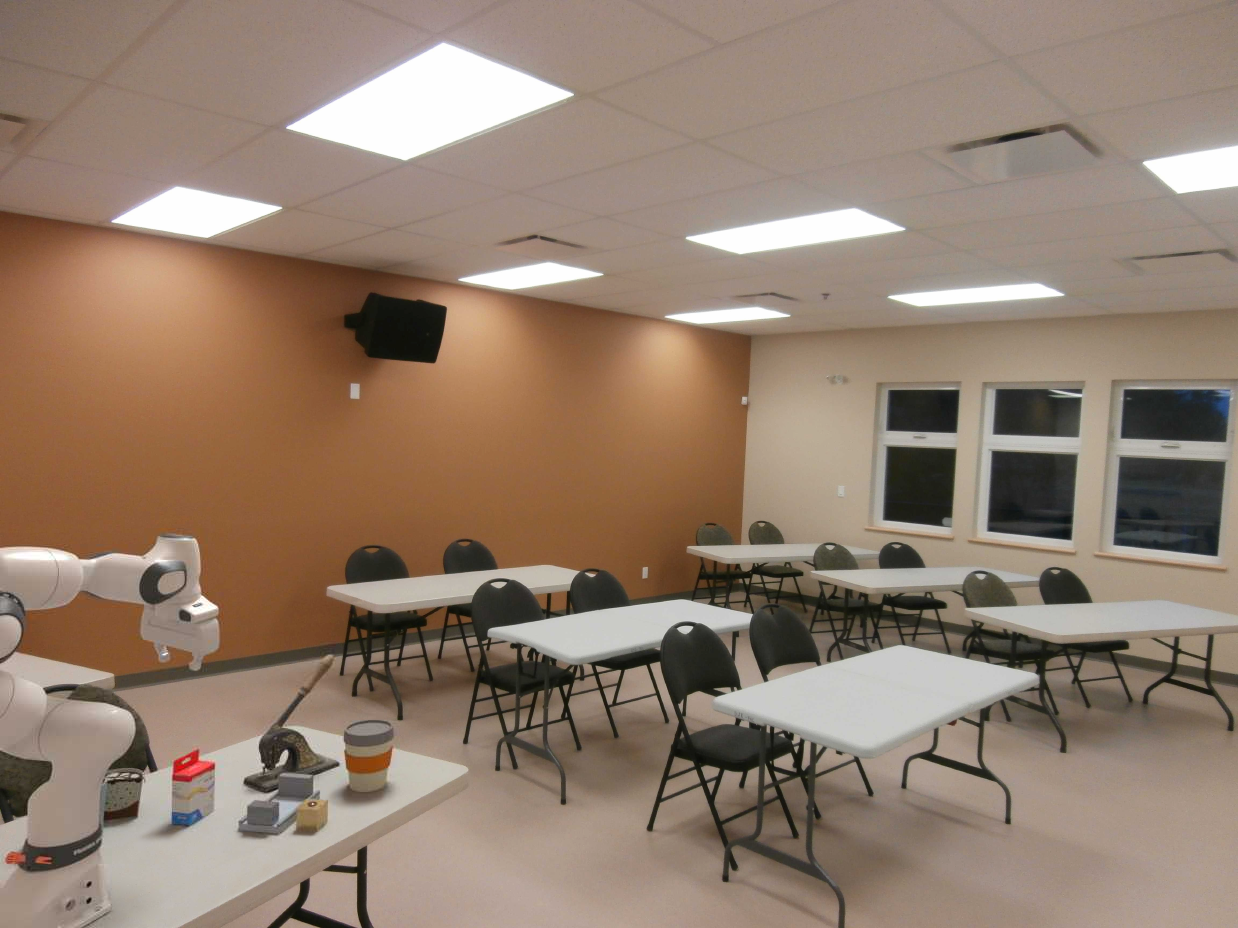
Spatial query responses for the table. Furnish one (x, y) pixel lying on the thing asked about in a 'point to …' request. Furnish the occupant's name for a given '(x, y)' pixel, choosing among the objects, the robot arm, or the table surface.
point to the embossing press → (290, 743)
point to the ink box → (192, 789)
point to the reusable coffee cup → (368, 753)
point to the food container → (122, 794)
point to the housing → (311, 815)
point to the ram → (263, 812)
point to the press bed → (286, 802)
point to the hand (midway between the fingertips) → (179, 665)
